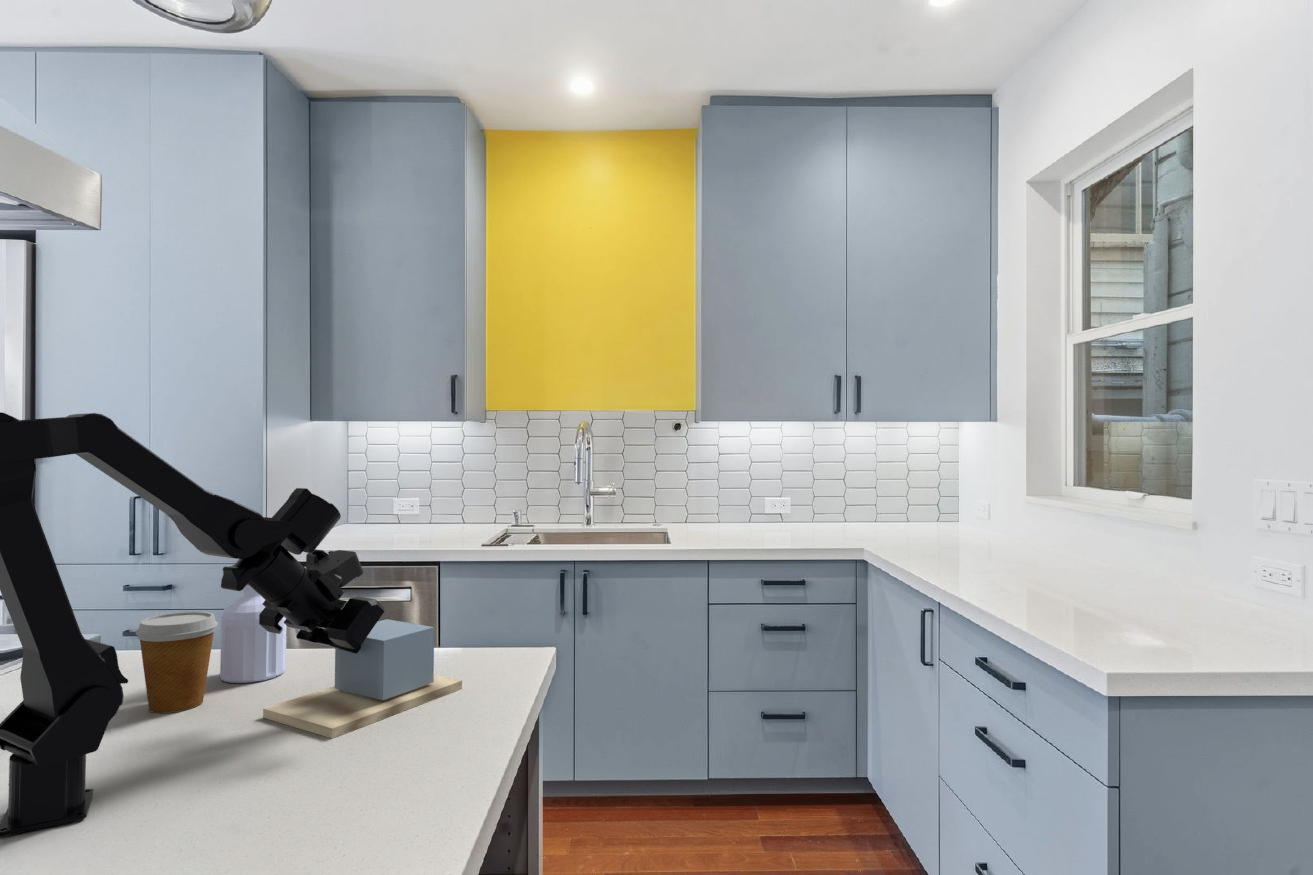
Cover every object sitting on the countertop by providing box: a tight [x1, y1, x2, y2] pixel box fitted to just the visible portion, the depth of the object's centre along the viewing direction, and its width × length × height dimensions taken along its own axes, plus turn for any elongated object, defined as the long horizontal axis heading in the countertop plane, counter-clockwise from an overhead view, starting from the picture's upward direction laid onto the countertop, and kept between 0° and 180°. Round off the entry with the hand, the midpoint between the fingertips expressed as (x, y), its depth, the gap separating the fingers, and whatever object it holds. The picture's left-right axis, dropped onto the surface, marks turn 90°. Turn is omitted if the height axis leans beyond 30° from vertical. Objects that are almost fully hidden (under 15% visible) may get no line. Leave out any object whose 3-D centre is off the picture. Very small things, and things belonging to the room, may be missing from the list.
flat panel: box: [262, 674, 463, 739], centre depth 103 cm, size 22×14×5 cm, turn 151°
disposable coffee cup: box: [135, 611, 219, 714], centre depth 101 cm, size 10×10×12 cm
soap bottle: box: [219, 584, 287, 684], centre depth 115 cm, size 9×9×25 cm
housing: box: [334, 618, 435, 700], centre depth 105 cm, size 9×10×8 cm
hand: (357, 650), depth 101 cm, fingers closed, pressing on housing
